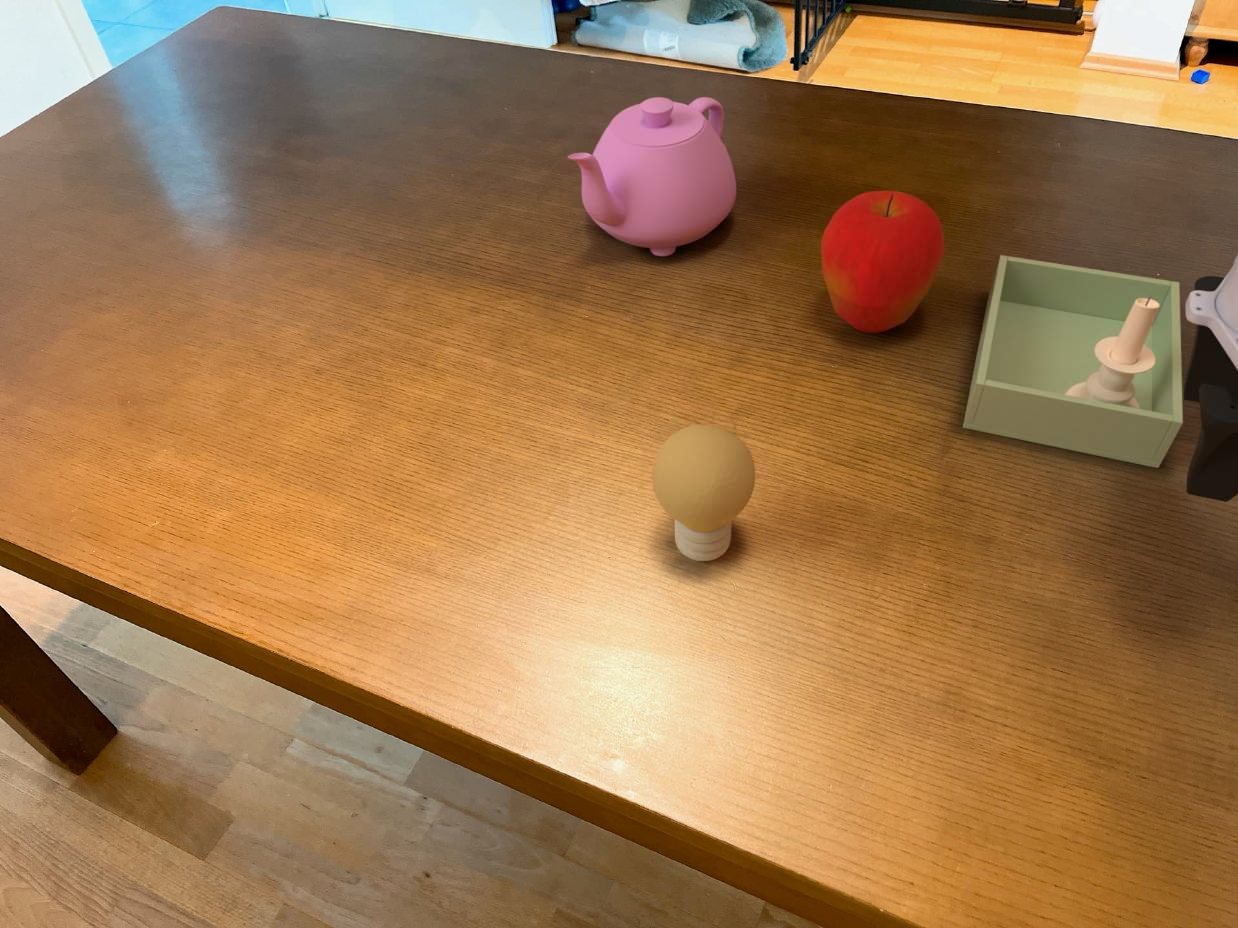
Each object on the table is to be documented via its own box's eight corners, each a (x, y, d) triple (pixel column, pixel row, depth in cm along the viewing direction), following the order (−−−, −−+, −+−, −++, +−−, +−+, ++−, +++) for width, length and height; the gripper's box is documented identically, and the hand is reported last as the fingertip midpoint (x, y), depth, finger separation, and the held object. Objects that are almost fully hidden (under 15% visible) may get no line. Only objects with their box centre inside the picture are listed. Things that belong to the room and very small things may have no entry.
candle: (1062, 381, 70) (1106, 267, 63) (1137, 392, 69) (1191, 277, 61) (1062, 427, 67) (1108, 314, 59) (1140, 441, 66) (1198, 326, 58)
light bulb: (683, 495, 65) (681, 392, 58) (765, 528, 63) (775, 425, 56) (638, 559, 62) (630, 458, 54) (724, 597, 59) (727, 496, 52)
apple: (931, 295, 79) (960, 168, 70) (921, 363, 73) (951, 233, 64) (822, 281, 81) (837, 155, 72) (804, 345, 76) (818, 217, 67)
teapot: (636, 307, 80) (629, 181, 71) (528, 248, 88) (509, 127, 79) (778, 208, 89) (786, 86, 81) (669, 162, 97) (667, 46, 88)
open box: (1158, 328, 74) (1179, 282, 71) (1158, 468, 64) (1183, 423, 61) (987, 299, 78) (1000, 254, 75) (962, 428, 68) (976, 383, 65)
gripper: (1220, 148, 48) (1129, 350, 57) (1234, 317, 39) (1124, 521, 49) (1380, 167, 45) (1257, 373, 55) (1434, 349, 37) (1276, 556, 47)
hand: (1204, 444), depth 52 cm, fingers open, 7 cm apart
